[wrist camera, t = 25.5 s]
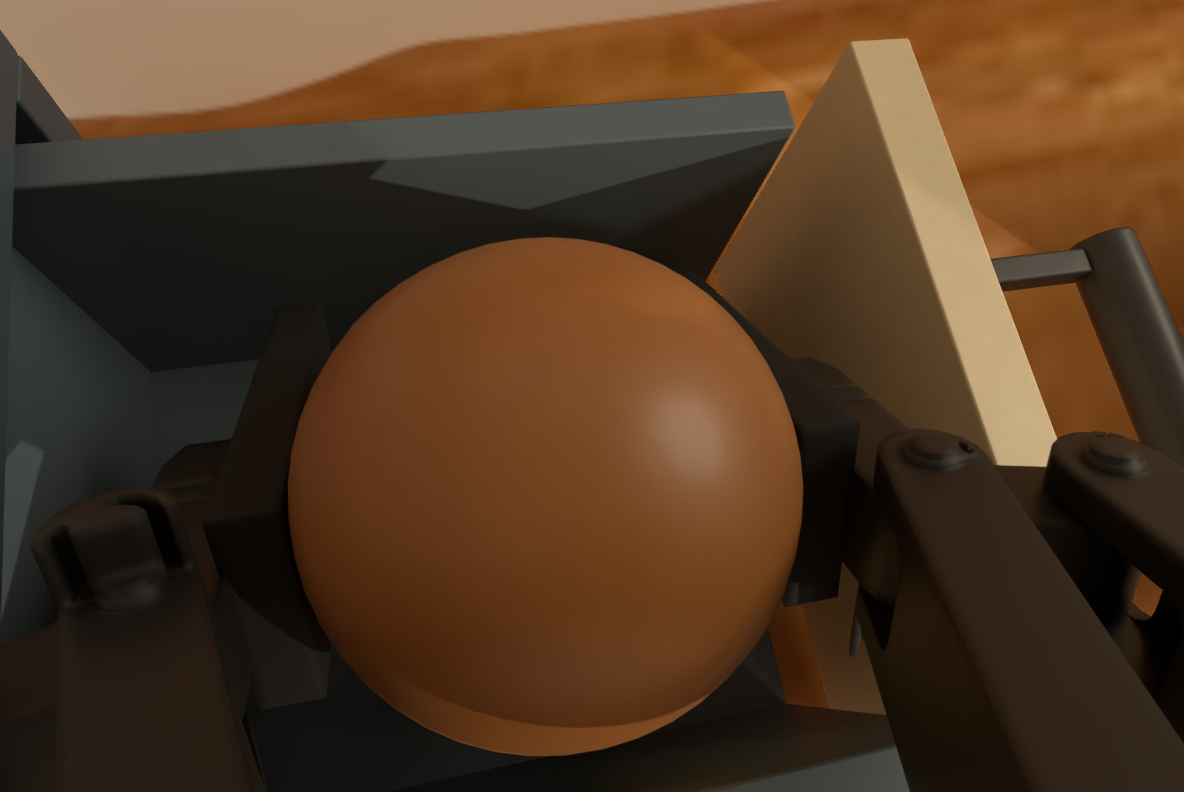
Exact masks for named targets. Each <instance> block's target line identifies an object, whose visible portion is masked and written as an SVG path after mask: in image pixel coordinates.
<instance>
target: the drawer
mask: <svg viewBox="0 0 1184 792" xmlns="http://www.w3.org/2000/svg"><path fill="white" fill-rule="evenodd" d="M794 128H795V124H794V120H793V117H792V114H791V111H790V107H789V104H788V101H787V98H786V95H785V92H784V91H774V92H759V93H745V94H731V95H717V96H702V97H688V98H674V99H659V100H645V101H631V102H616V103H602V104H588V105H574V106H559V107H545V108H531V109H516V110H502V111H488V112H473V113H459V114H445V115H430V116H416V117H402V118H388V119H373V120H359V121H345V122H330V123H316V124H302V125H287V126H273V127H259V128H245V129H230V130H216V131H202V132H187V133H173V134H159V135H144V136H130V137H116V138H102V139H87V140H73V141H59V142H44V143H30V144H16V145H15V163H14V196H13V230H12V263H11V296H10V329H9V363H8V396H7V429H6V463H5V496H4V529H3V562H2V596H1V629H0V644H2V643H5V642H8V641H11V640H13V639H16V638H19V637H22V636H25V635H27V634H30V633H32V632H35V631H37V630H40V629H42V628H44V627H47V626H49V625H52V624H53V623H55V622H57V621H58V610H57V607H56V605H55V603H54V601H53V598H52V596H51V594H50V592H49V589H48V587H47V585H46V583H45V580H44V578H43V576H42V574H41V571H40V569H39V567H38V564H37V562H36V560H35V558H34V555H33V553H32V551H31V549H30V546H29V545H30V543H31V541H32V539H33V537H34V534H35V532H36V531H37V530H38V529H39V528H40V527H41V526H42V525H43V524H44V523H45V522H46V521H48V520H49V519H50V518H51V517H52V516H53V515H55V514H57V513H59V512H60V511H62V510H64V509H66V508H67V507H69V506H71V505H73V504H75V503H76V502H79V501H82V500H84V499H87V498H90V497H93V496H96V495H98V494H101V493H104V492H109V491H114V490H120V489H125V488H130V487H152V486H153V484H154V481H155V479H156V477H157V475H158V473H159V471H160V469H161V467H162V465H163V464H165V463H166V462H167V461H168V460H169V459H170V458H172V457H173V456H174V455H175V454H176V453H177V452H179V451H180V450H181V449H182V448H183V447H184V446H186V445H190V444H198V443H205V442H212V441H219V440H227V439H232V436H233V433H234V430H235V427H236V425H237V422H238V419H239V416H240V413H241V410H242V407H243V404H244V401H245V398H246V395H247V393H248V390H249V387H250V384H251V381H252V378H253V375H254V372H255V369H256V366H257V364H258V361H259V358H260V355H261V352H262V349H263V346H264V343H265V340H266V337H267V334H268V332H269V329H270V326H271V323H272V320H273V317H274V314H275V311H276V308H285V307H294V306H303V305H312V304H321V305H322V310H323V315H324V320H325V325H326V330H327V335H328V339H329V344H330V349H331V354H332V352H333V350H334V349H335V348H336V346H337V345H338V344H339V342H340V341H341V340H342V338H343V337H344V336H345V335H346V333H347V332H348V331H349V329H350V328H351V327H352V325H353V324H354V323H355V322H356V321H357V320H358V319H359V318H360V317H361V316H362V315H363V314H364V313H365V312H366V311H367V310H368V309H369V308H370V307H371V306H372V305H373V304H374V303H375V302H377V301H378V300H379V299H380V298H382V297H383V296H384V295H385V294H387V293H388V292H389V291H391V290H392V289H393V288H394V287H396V286H397V285H398V284H400V283H401V282H403V281H405V280H406V279H408V278H410V277H411V276H413V275H415V274H416V273H418V272H420V271H421V270H423V269H425V268H426V267H429V266H431V265H433V264H435V263H438V262H440V261H442V260H444V259H447V258H449V257H451V256H453V255H456V254H458V253H460V252H464V251H467V250H470V249H474V248H477V247H480V246H483V245H487V244H491V243H497V242H502V241H508V240H514V239H523V238H540V237H554V238H571V239H581V240H586V241H592V242H598V243H603V244H608V245H611V246H614V247H618V248H621V249H624V250H628V251H631V252H634V253H637V254H639V255H641V256H644V257H646V258H648V259H651V260H653V261H655V262H658V263H660V264H662V265H664V266H667V265H676V264H686V265H687V266H689V267H690V268H691V269H692V270H693V271H694V272H695V273H696V274H697V275H698V276H700V277H701V278H702V279H703V280H704V281H706V279H707V277H708V276H709V274H710V272H711V270H712V269H713V267H714V265H715V264H716V262H717V260H718V258H719V257H720V255H721V253H722V252H723V250H724V248H725V246H726V245H727V243H728V241H729V240H730V238H731V236H732V234H733V233H734V231H735V229H736V228H737V226H738V224H739V222H740V221H741V219H742V217H743V216H744V214H745V212H746V210H747V209H748V207H749V205H750V204H751V202H752V200H753V198H754V197H755V195H756V193H757V192H758V190H759V188H760V186H761V185H762V183H763V181H764V180H765V178H766V176H767V174H768V173H769V171H770V169H771V168H772V166H773V164H774V162H775V161H776V159H777V157H778V156H779V154H780V152H781V150H782V149H783V147H784V145H785V144H786V142H787V140H788V139H789V137H790V135H791V133H792V132H793V130H794ZM716 273H717V277H718V281H719V285H720V289H721V292H722V296H723V298H724V299H725V300H726V301H727V302H728V303H729V304H730V305H731V306H733V307H734V308H735V309H736V310H737V311H738V312H739V313H740V314H741V315H742V316H744V317H745V318H746V319H747V320H748V321H749V322H750V323H751V324H752V325H753V326H755V327H756V328H757V329H758V330H759V331H760V332H761V333H762V334H763V335H764V336H766V337H767V338H768V339H769V340H770V341H771V342H772V343H773V344H774V345H775V346H777V347H778V348H779V349H780V350H781V351H782V352H783V353H784V354H785V355H786V356H788V357H789V358H790V359H791V360H795V359H802V358H809V357H810V358H813V359H815V360H818V361H820V362H822V363H825V364H827V365H830V366H832V367H834V368H837V369H838V370H839V371H840V372H842V373H843V374H844V375H845V376H846V377H848V378H849V379H850V380H851V381H852V382H854V385H855V386H858V387H860V388H861V389H862V390H863V391H864V392H866V393H867V394H868V395H869V398H873V399H874V400H875V401H876V402H878V403H879V404H880V405H881V406H882V407H884V408H885V409H886V410H887V411H888V412H890V413H891V414H892V415H893V416H894V417H896V418H897V419H898V420H899V421H900V422H901V423H903V424H904V425H905V426H906V427H907V428H909V429H928V430H939V431H942V432H946V433H950V434H953V435H957V436H960V437H962V438H964V439H966V440H968V441H970V442H972V443H974V444H976V445H977V446H978V447H979V448H980V449H981V450H982V451H983V452H985V453H986V454H987V456H988V457H989V458H990V460H991V461H992V463H993V464H994V465H1007V466H1038V467H1046V465H1047V461H1048V458H1049V454H1050V450H1051V446H1052V444H1053V443H1054V442H1055V441H1056V440H1057V437H1056V435H1055V432H1054V429H1053V427H1052V424H1051V421H1050V419H1049V416H1048V413H1047V411H1046V408H1045V405H1044V402H1043V400H1042V397H1041V394H1040V392H1039V389H1038V386H1037V384H1036V381H1035V378H1034V376H1033V373H1032V370H1031V367H1030V365H1029V362H1028V359H1027V357H1026V354H1025V351H1024V349H1023V346H1022V343H1021V341H1020V338H1019V335H1018V332H1017V330H1016V327H1015V324H1014V322H1013V319H1012V316H1011V314H1010V311H1009V308H1008V306H1007V303H1006V300H1005V297H1004V295H1003V291H1011V290H1019V289H1027V288H1035V287H1043V286H1051V285H1059V284H1067V283H1074V282H1076V284H1077V287H1078V289H1079V292H1080V294H1081V297H1082V299H1083V302H1084V304H1085V307H1086V309H1087V312H1088V314H1089V317H1090V319H1091V322H1092V324H1093V327H1094V329H1095V332H1096V334H1097V337H1098V339H1099V342H1100V344H1101V347H1102V349H1103V352H1104V354H1105V357H1106V359H1107V361H1108V364H1109V366H1110V369H1111V371H1112V374H1113V376H1114V379H1115V381H1116V384H1117V386H1118V389H1119V391H1120V394H1121V396H1122V399H1123V401H1124V404H1125V406H1126V409H1127V411H1128V414H1129V416H1130V419H1131V421H1132V424H1133V426H1134V429H1135V431H1136V434H1137V436H1138V438H1139V441H1140V443H1142V444H1144V445H1146V446H1148V447H1150V448H1152V449H1154V450H1156V451H1158V452H1160V453H1162V454H1163V455H1165V456H1166V457H1168V458H1170V459H1171V460H1173V461H1174V462H1176V463H1177V464H1179V465H1180V466H1182V467H1183V468H1184V342H1183V339H1182V337H1181V335H1180V333H1179V330H1178V328H1177V326H1176V323H1175V321H1174V319H1173V316H1172V314H1171V312H1170V310H1169V307H1168V305H1167V303H1166V300H1165V298H1164V296H1163V294H1162V291H1161V289H1160V287H1159V284H1158V282H1157V280H1156V277H1155V275H1154V273H1153V271H1152V268H1151V266H1150V264H1149V261H1148V259H1147V257H1146V255H1145V252H1144V250H1143V248H1142V245H1141V243H1140V241H1139V238H1138V236H1137V234H1136V232H1135V230H1133V229H1132V228H1128V227H1124V228H1116V229H1112V230H1108V231H1104V232H1101V233H1098V234H1096V235H1093V236H1091V237H1088V238H1086V239H1084V240H1082V241H1081V242H1079V243H1077V244H1076V245H1074V246H1073V247H1071V248H1070V249H1069V250H1064V251H1055V252H1047V253H1038V254H1030V255H1021V256H1012V257H1004V258H995V259H990V257H989V254H988V252H987V249H986V246H985V244H984V241H983V238H982V236H981V233H980V230H979V227H978V225H977V222H976V219H975V217H974V214H973V211H972V209H971V206H970V203H969V201H968V198H967V195H966V192H965V190H964V187H963V184H962V182H961V179H960V176H959V174H958V171H957V168H956V166H955V163H954V160H953V157H952V155H951V152H950V149H949V147H948V144H947V141H946V139H945V136H944V133H943V131H942V128H941V125H940V122H939V120H938V117H937V114H936V112H935V109H934V106H933V104H932V101H931V98H930V95H929V93H928V90H927V87H926V85H925V82H924V79H923V77H922V74H921V71H920V69H919V66H918V63H917V60H916V58H915V55H914V52H913V50H912V47H911V44H910V42H909V39H907V38H903V39H886V40H869V41H852V42H850V43H849V44H848V46H847V48H846V49H845V51H844V53H843V54H842V56H841V58H840V60H839V61H838V63H837V65H836V66H835V68H834V70H833V71H832V73H831V75H830V76H829V78H828V80H827V82H826V83H825V85H824V87H823V88H822V90H821V92H820V93H819V95H818V97H817V98H816V100H815V102H814V104H813V105H812V107H811V109H810V110H809V112H808V114H807V115H806V117H805V119H804V120H803V122H802V124H801V125H800V127H799V129H798V131H797V132H796V134H795V136H794V137H793V139H792V141H791V142H790V144H789V146H788V147H787V149H786V151H785V153H784V154H783V156H782V158H781V159H780V161H779V163H778V164H777V166H776V168H775V169H774V171H773V173H772V174H771V176H770V178H769V180H768V181H767V183H766V185H765V186H764V188H763V190H762V191H761V193H760V195H759V196H758V198H757V200H756V202H755V203H754V205H753V207H752V208H751V210H750V212H749V213H748V215H747V217H746V218H745V220H744V222H743V224H742V225H741V227H740V229H739V230H738V232H737V234H736V235H735V237H734V239H733V240H732V242H731V244H730V245H729V247H728V249H727V251H726V252H725V254H724V256H723V257H722V259H721V261H720V262H719V264H718V266H717V267H716ZM857 588H858V580H857V579H856V578H855V577H854V575H853V574H852V573H851V572H850V570H849V569H848V568H847V567H846V565H845V564H844V563H843V562H842V567H841V575H840V582H839V590H838V597H835V598H830V599H825V600H820V601H815V602H810V603H805V604H802V607H803V611H804V615H805V619H806V622H807V626H808V630H809V634H810V638H811V642H812V646H813V650H814V653H815V657H816V661H817V665H818V669H819V673H820V677H821V681H822V685H823V688H824V692H825V696H826V700H827V704H828V708H829V709H828V708H819V707H810V706H801V705H792V704H786V700H785V696H784V692H783V687H782V683H781V679H780V675H779V671H778V667H777V663H776V659H775V655H774V651H773V646H772V642H771V638H770V634H769V630H768V627H767V628H766V630H765V631H764V633H763V634H762V636H761V638H760V639H759V641H758V642H757V644H756V645H755V647H754V649H753V650H752V651H751V652H750V653H749V654H748V656H747V657H746V658H745V659H744V660H743V662H742V663H741V664H740V665H739V666H738V667H737V669H736V670H735V671H734V672H733V673H732V675H731V676H730V677H728V678H727V679H726V680H725V681H724V682H723V683H722V684H721V685H720V686H719V687H717V688H716V689H715V690H714V691H713V692H712V693H711V694H710V695H709V696H707V697H706V698H705V699H704V700H703V701H702V702H701V703H699V704H698V705H696V706H695V707H693V708H692V709H690V710H689V711H687V712H686V713H684V714H683V715H681V716H680V717H678V718H677V719H676V720H674V721H673V722H671V723H669V724H667V725H665V726H663V727H661V728H659V729H657V730H654V731H652V732H650V733H648V734H646V735H644V736H642V737H640V738H637V739H634V740H631V741H628V742H625V743H622V744H618V745H615V746H612V747H609V748H606V749H601V750H595V751H589V752H583V753H577V754H571V755H553V756H526V755H518V754H510V753H501V752H494V751H490V750H486V749H483V748H479V747H475V746H472V745H468V744H464V743H460V742H458V741H455V740H453V739H451V738H448V737H446V736H444V735H441V734H439V733H437V732H434V731H432V730H430V729H428V728H425V727H424V726H422V725H420V724H419V723H417V722H416V721H414V720H412V719H411V718H409V717H407V716H406V715H404V714H403V713H401V712H399V711H398V710H396V709H395V708H393V707H392V706H391V705H390V704H389V703H387V702H386V701H385V700H384V699H383V698H381V697H380V696H379V695H378V694H377V693H375V692H374V691H373V690H372V689H371V688H369V687H368V686H367V685H366V684H365V683H364V682H363V681H362V679H361V678H360V677H359V676H358V675H357V674H356V673H355V672H354V671H353V669H352V668H351V667H350V666H349V665H348V664H347V663H346V662H345V661H344V659H343V658H342V657H341V656H340V654H339V653H338V651H337V650H336V648H335V647H334V645H333V644H332V642H331V651H330V663H329V675H328V687H327V697H326V698H321V699H316V700H311V701H305V702H300V703H295V704H290V705H285V706H280V707H275V708H270V709H265V710H261V708H260V705H259V702H258V699H257V695H256V692H255V689H254V686H253V683H252V680H251V682H250V687H249V692H248V697H247V703H246V708H245V710H246V713H247V716H248V719H249V722H250V725H251V728H252V731H253V734H254V738H255V742H256V745H257V749H258V753H259V757H260V761H261V765H262V769H263V773H264V777H265V781H266V785H267V789H268V792H910V790H909V787H908V784H907V780H906V777H905V774H904V771H903V767H902V764H901V761H900V757H899V754H898V751H897V747H896V744H895V741H894V738H893V734H892V731H891V728H890V724H889V721H888V718H887V715H886V711H885V708H884V705H883V701H882V698H881V695H880V691H879V688H878V685H877V682H876V678H875V675H874V672H873V668H872V665H871V662H870V658H869V655H868V652H867V649H866V645H865V642H864V639H863V640H862V641H861V642H860V646H859V653H858V657H857V656H849V644H850V637H851V630H852V623H853V616H854V609H855V602H856V595H857Z"/></svg>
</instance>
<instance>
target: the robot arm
mask: <svg viewBox="0 0 1184 792" xmlns="http://www.w3.org/2000/svg"><path fill="white" fill-rule="evenodd" d="M666 267H667V268H669V269H671V270H673V271H674V272H676V273H678V274H680V275H681V276H683V277H685V278H687V279H688V280H689V281H691V282H692V283H693V284H695V285H696V286H697V287H699V288H700V289H702V290H703V291H704V292H706V293H707V294H708V295H710V296H711V297H712V298H713V299H714V300H715V301H716V302H717V303H718V304H719V305H721V306H722V307H723V308H724V309H725V310H726V311H727V312H728V313H729V314H730V315H731V316H732V317H733V318H734V319H735V320H736V322H737V323H738V324H739V325H740V326H741V327H742V329H743V330H744V331H745V332H746V333H747V335H748V336H749V337H750V338H751V339H752V341H753V342H754V344H755V345H756V347H757V349H758V350H759V352H760V353H761V355H762V356H763V358H764V359H765V361H766V362H767V364H768V366H769V368H770V370H771V372H772V374H773V376H774V378H775V380H776V382H777V384H778V386H779V388H780V390H781V392H782V394H783V397H784V399H785V402H786V405H787V408H788V411H789V413H790V416H791V419H792V422H793V425H794V429H795V433H796V438H797V442H798V447H799V451H800V457H801V467H802V478H803V509H802V522H801V528H800V534H799V540H798V546H797V552H796V557H795V561H794V564H793V567H792V570H791V574H790V577H789V580H788V583H787V587H786V590H785V592H784V594H783V596H782V599H781V600H782V602H783V603H784V605H785V606H786V607H789V606H794V605H799V604H805V603H810V602H815V601H820V600H825V599H830V598H835V597H838V590H839V582H840V575H841V567H842V562H843V563H844V564H845V565H846V567H847V568H848V569H849V570H850V572H851V573H852V574H853V575H854V577H855V578H856V579H857V580H858V588H857V595H856V602H855V609H854V616H853V623H852V630H851V637H850V644H849V656H857V657H858V653H859V646H860V642H861V641H862V640H863V639H864V642H865V645H866V649H867V652H868V655H869V658H870V662H871V665H872V668H873V672H874V675H875V678H876V682H877V685H878V688H879V691H880V695H881V698H882V701H883V705H884V708H885V711H886V715H887V718H888V721H889V724H890V728H891V731H892V734H893V738H894V741H895V744H896V747H897V751H898V754H899V757H900V761H901V764H902V767H903V771H904V774H905V777H906V780H907V784H908V787H909V790H910V792H1184V468H1183V467H1182V466H1180V465H1179V464H1177V463H1176V462H1174V461H1173V460H1171V459H1170V458H1168V457H1166V456H1165V455H1163V454H1162V453H1160V452H1158V451H1156V450H1154V449H1152V448H1150V447H1148V446H1146V445H1144V444H1142V443H1140V442H1137V441H1134V440H1130V439H1127V438H1125V437H1124V436H1122V435H1118V434H1113V433H1109V434H1107V433H1106V432H1096V431H1095V432H1079V433H1071V434H1068V435H1064V436H1060V437H1059V438H1058V439H1057V440H1056V441H1055V442H1054V443H1053V444H1052V446H1051V450H1050V454H1049V458H1048V461H1047V465H1046V467H1038V466H1007V465H994V464H993V463H992V461H991V460H990V458H989V457H988V456H987V454H986V453H985V452H983V451H982V450H981V449H980V448H979V447H978V446H977V445H976V444H974V443H972V442H970V441H968V440H966V439H964V438H962V437H960V436H957V435H953V434H950V433H946V432H942V431H939V430H928V429H909V428H907V427H906V426H905V425H904V424H903V423H901V422H900V421H899V420H898V419H897V418H896V417H894V416H893V415H892V414H891V413H890V412H888V411H887V410H886V409H885V408H884V407H882V406H881V405H880V404H879V403H878V402H876V401H875V400H874V399H873V398H869V395H868V394H867V393H866V392H864V391H863V390H862V389H861V388H860V387H858V386H855V385H854V382H852V381H851V380H850V379H849V378H848V377H846V376H845V375H844V374H843V373H842V372H840V371H839V370H838V369H837V368H834V367H832V366H830V365H827V364H825V363H822V362H820V361H818V360H815V359H813V358H810V357H809V358H802V359H795V360H791V359H790V358H789V357H788V356H786V355H785V354H784V353H783V352H782V351H781V350H780V349H779V348H778V347H777V346H775V345H774V344H773V343H772V342H771V341H770V340H769V339H768V338H767V337H766V336H764V335H763V334H762V333H761V332H760V331H759V330H758V329H757V328H756V327H755V326H753V325H752V324H751V323H750V322H749V321H748V320H747V319H746V318H745V317H744V316H742V315H741V314H740V313H739V312H738V311H737V310H736V309H735V308H734V307H733V306H731V305H730V304H729V303H728V302H727V301H726V300H725V299H724V298H723V297H722V296H720V295H719V294H718V293H717V292H716V291H715V290H714V289H713V288H712V287H711V286H709V285H708V284H707V283H706V282H705V281H704V280H703V279H702V278H701V277H700V276H698V275H697V274H696V273H695V272H694V271H693V270H692V269H691V268H690V267H689V266H687V265H686V264H676V265H667V266H666ZM330 355H331V349H330V344H329V339H328V335H327V330H326V325H325V320H324V315H323V310H322V305H321V304H312V305H303V306H294V307H285V308H276V311H275V314H274V317H273V320H272V323H271V326H270V329H269V332H268V334H267V337H266V340H265V343H264V346H263V349H262V352H261V355H260V358H259V361H258V364H257V366H256V369H255V372H254V375H253V378H252V381H251V384H250V387H249V390H248V393H247V395H246V398H245V401H244V404H243V407H242V410H241V413H240V416H239V419H238V422H237V425H236V427H235V430H234V433H233V436H232V439H227V440H219V441H212V442H205V443H198V444H190V445H186V446H184V447H183V448H182V449H181V450H180V451H179V452H177V453H176V454H175V455H174V456H173V457H172V458H170V459H169V460H168V461H167V462H166V463H165V464H163V465H162V467H161V469H160V471H159V473H158V475H157V477H156V479H155V481H154V484H153V486H152V487H130V488H125V489H120V490H114V491H109V492H104V493H101V494H98V495H96V496H93V497H90V498H87V499H84V500H82V501H79V502H76V503H75V504H73V505H71V506H69V507H67V508H66V509H64V510H62V511H60V512H59V513H57V514H55V515H53V516H52V517H51V518H50V519H49V520H48V521H46V522H45V523H44V524H43V525H42V526H41V527H40V528H39V529H38V530H37V531H36V532H35V534H34V537H33V539H32V541H31V543H30V545H29V546H30V549H31V551H32V553H33V555H34V558H35V560H36V562H37V564H38V567H39V569H40V571H41V574H42V576H43V578H44V580H45V583H46V585H47V587H48V589H49V592H50V594H51V596H52V598H53V601H54V603H55V605H56V607H57V610H58V621H57V622H55V623H53V624H52V625H49V626H47V627H44V628H42V629H40V630H37V631H35V632H32V633H30V634H27V635H25V636H22V637H19V638H16V639H13V640H11V641H8V642H5V643H2V644H0V792H268V789H267V785H266V781H265V777H264V773H263V769H262V765H261V761H260V757H259V753H258V749H257V745H256V742H255V738H254V734H253V731H252V728H251V725H250V722H249V719H248V716H247V713H246V710H245V708H246V703H247V697H248V692H249V687H250V682H251V680H252V683H253V686H254V689H255V692H256V695H257V699H258V702H259V705H260V708H261V710H265V709H270V708H275V707H280V706H285V705H290V704H295V703H300V702H305V701H311V700H316V699H321V698H326V697H327V687H328V675H329V663H330V651H331V641H330V639H329V638H328V636H327V635H326V633H325V632H324V630H323V629H322V627H321V626H320V624H319V622H318V619H317V617H316V615H315V613H314V611H313V609H312V607H311V605H310V603H309V601H308V599H307V597H306V594H305V591H304V588H303V585H302V582H301V579H300V575H299V572H298V569H297V566H296V563H295V559H294V553H293V547H292V541H291V534H290V528H289V516H288V477H289V469H290V460H291V451H292V447H293V443H294V439H295V435H296V431H297V427H298V423H299V419H300V416H301V414H302V411H303V409H304V406H305V404H306V401H307V399H308V397H309V394H310V392H311V389H312V387H313V385H314V383H315V381H316V380H317V378H318V376H319V374H320V373H321V371H322V369H323V367H324V366H325V364H326V362H327V360H328V359H329V357H330ZM1141 573H1143V574H1144V575H1145V576H1147V577H1148V578H1149V579H1150V580H1151V581H1153V582H1154V583H1155V584H1156V585H1157V586H1159V587H1160V588H1161V589H1162V590H1163V591H1162V594H1161V597H1160V600H1159V602H1158V605H1157V608H1156V611H1155V612H1154V614H1153V615H1152V617H1150V616H1148V615H1147V614H1145V613H1144V612H1142V611H1141V610H1140V609H1139V608H1138V607H1137V606H1135V605H1134V604H1133V603H1132V599H1133V596H1134V593H1135V591H1136V588H1137V585H1138V582H1139V579H1140V576H1141Z"/></svg>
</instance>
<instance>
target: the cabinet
mask: <svg viewBox="0 0 1184 792" xmlns="http://www.w3.org/2000/svg"><path fill="white" fill-rule="evenodd" d="M73 140H83V139H82V137H81V136H80V135H79V133H78V132H77V131H76V129H75V128H74V127H73V125H72V124H71V123H70V121H69V120H68V119H67V117H66V116H65V115H64V113H63V112H62V111H61V109H60V108H59V107H58V105H57V104H56V103H55V101H54V100H53V99H52V97H51V96H50V95H49V93H48V92H47V91H46V89H45V88H44V87H43V85H42V84H41V82H40V81H39V80H38V79H37V77H36V76H35V74H34V73H33V72H32V70H31V69H30V68H29V67H28V65H27V64H26V62H25V61H24V60H23V58H22V57H20V56H17V52H16V51H15V49H14V48H13V46H12V45H11V44H10V43H9V41H8V40H7V38H6V37H5V36H4V35H3V34H2V32H1V30H0V629H1V596H2V562H3V529H4V496H5V463H6V429H7V396H8V363H9V329H10V296H11V263H12V230H13V196H14V163H15V145H16V144H30V143H44V142H59V141H73Z"/></svg>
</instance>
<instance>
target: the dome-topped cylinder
mask: <svg viewBox="0 0 1184 792" xmlns="http://www.w3.org/2000/svg"><path fill="white" fill-rule="evenodd" d="M802 509H803V478H802V467H801V457H800V451H799V447H798V442H797V438H796V433H795V429H794V425H793V422H792V419H791V416H790V413H789V411H788V408H787V405H786V402H785V399H784V397H783V394H782V392H781V390H780V388H779V386H778V384H777V382H776V380H775V378H774V376H773V374H772V372H771V370H770V368H769V366H768V364H767V362H766V361H765V359H764V358H763V356H762V355H761V353H760V352H759V350H758V349H757V347H756V345H755V344H754V342H753V341H752V339H751V338H750V337H749V336H748V335H747V333H746V332H745V331H744V330H743V329H742V327H741V326H740V325H739V324H738V323H737V322H736V320H735V319H734V318H733V317H732V316H731V315H730V314H729V313H728V312H727V311H726V310H725V309H724V308H723V307H722V306H721V305H719V304H718V303H717V302H716V301H715V300H714V299H713V298H712V297H711V296H710V295H708V294H707V293H706V292H704V291H703V290H702V289H700V288H699V287H697V286H696V285H695V284H693V283H692V282H691V281H689V280H688V279H687V278H685V277H683V276H681V275H680V274H678V273H676V272H674V271H673V270H671V269H669V268H667V267H666V266H664V265H662V264H660V263H658V262H655V261H653V260H651V259H648V258H646V257H644V256H641V255H639V254H637V253H634V252H631V251H628V250H624V249H621V248H618V247H614V246H611V245H608V244H603V243H598V242H592V241H586V240H581V239H571V238H554V237H540V238H523V239H514V240H508V241H502V242H497V243H491V244H487V245H483V246H480V247H477V248H474V249H470V250H467V251H464V252H460V253H458V254H456V255H453V256H451V257H449V258H447V259H444V260H442V261H440V262H438V263H435V264H433V265H431V266H429V267H426V268H425V269H423V270H421V271H420V272H418V273H416V274H415V275H413V276H411V277H410V278H408V279H406V280H405V281H403V282H401V283H400V284H398V285H397V286H396V287H394V288H393V289H392V290H391V291H389V292H388V293H387V294H385V295H384V296H383V297H382V298H380V299H379V300H378V301H377V302H375V303H374V304H373V305H372V306H371V307H370V308H369V309H368V310H367V311H366V312H365V313H364V314H363V315H362V316H361V317H360V318H359V319H358V320H357V321H356V322H355V323H354V324H353V325H352V327H351V328H350V329H349V331H348V332H347V333H346V335H345V336H344V337H343V338H342V340H341V341H340V342H339V344H338V345H337V346H336V348H335V349H334V350H333V352H332V354H331V355H330V357H329V359H328V360H327V362H326V364H325V366H324V367H323V369H322V371H321V373H320V374H319V376H318V378H317V380H316V381H315V383H314V385H313V387H312V389H311V392H310V394H309V397H308V399H307V401H306V404H305V406H304V409H303V411H302V414H301V416H300V419H299V423H298V427H297V431H296V435H295V439H294V443H293V447H292V451H291V460H290V469H289V477H288V516H289V528H290V534H291V541H292V547H293V553H294V559H295V563H296V566H297V569H298V572H299V575H300V579H301V582H302V585H303V588H304V591H305V594H306V597H307V599H308V601H309V603H310V605H311V607H312V609H313V611H314V613H315V615H316V617H317V619H318V622H319V624H320V626H321V627H322V629H323V630H324V632H325V633H326V635H327V636H328V638H329V639H330V641H331V642H332V644H333V645H334V647H335V648H336V650H337V651H338V653H339V654H340V656H341V657H342V658H343V659H344V661H345V662H346V663H347V664H348V665H349V666H350V667H351V668H352V669H353V671H354V672H355V673H356V674H357V675H358V676H359V677H360V678H361V679H362V681H363V682H364V683H365V684H366V685H367V686H368V687H369V688H371V689H372V690H373V691H374V692H375V693H377V694H378V695H379V696H380V697H381V698H383V699H384V700H385V701H386V702H387V703H389V704H390V705H391V706H392V707H393V708H395V709H396V710H398V711H399V712H401V713H403V714H404V715H406V716H407V717H409V718H411V719H412V720H414V721H416V722H417V723H419V724H420V725H422V726H424V727H425V728H428V729H430V730H432V731H434V732H437V733H439V734H441V735H444V736H446V737H448V738H451V739H453V740H455V741H458V742H460V743H464V744H468V745H472V746H475V747H479V748H483V749H486V750H490V751H494V752H501V753H510V754H518V755H526V756H553V755H571V754H577V753H583V752H589V751H595V750H601V749H606V748H609V747H612V746H615V745H618V744H622V743H625V742H628V741H631V740H634V739H637V738H640V737H642V736H644V735H646V734H648V733H650V732H652V731H654V730H657V729H659V728H661V727H663V726H665V725H667V724H669V723H671V722H673V721H674V720H676V719H677V718H678V717H680V716H681V715H683V714H684V713H686V712H687V711H689V710H690V709H692V708H693V707H695V706H696V705H698V704H699V703H701V702H702V701H703V700H704V699H705V698H706V697H707V696H709V695H710V694H711V693H712V692H713V691H714V690H715V689H716V688H717V687H719V686H720V685H721V684H722V683H723V682H724V681H725V680H726V679H727V678H728V677H730V676H731V675H732V673H733V672H734V671H735V670H736V669H737V667H738V666H739V665H740V664H741V663H742V662H743V660H744V659H745V658H746V657H747V656H748V654H749V653H750V652H751V651H752V650H753V649H754V647H755V645H756V644H757V642H758V641H759V639H760V638H761V636H762V634H763V633H764V631H765V630H766V628H767V627H768V625H769V623H770V622H771V620H772V618H773V616H774V614H775V612H776V609H777V607H778V605H779V603H780V601H781V599H782V596H783V594H784V592H785V590H786V587H787V583H788V580H789V577H790V574H791V570H792V567H793V564H794V561H795V557H796V552H797V546H798V540H799V534H800V528H801V522H802Z"/></svg>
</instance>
